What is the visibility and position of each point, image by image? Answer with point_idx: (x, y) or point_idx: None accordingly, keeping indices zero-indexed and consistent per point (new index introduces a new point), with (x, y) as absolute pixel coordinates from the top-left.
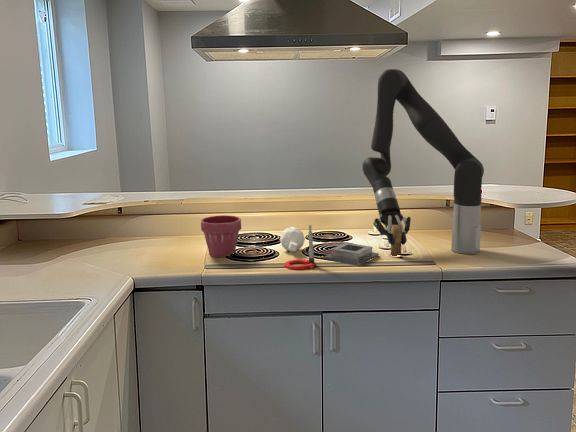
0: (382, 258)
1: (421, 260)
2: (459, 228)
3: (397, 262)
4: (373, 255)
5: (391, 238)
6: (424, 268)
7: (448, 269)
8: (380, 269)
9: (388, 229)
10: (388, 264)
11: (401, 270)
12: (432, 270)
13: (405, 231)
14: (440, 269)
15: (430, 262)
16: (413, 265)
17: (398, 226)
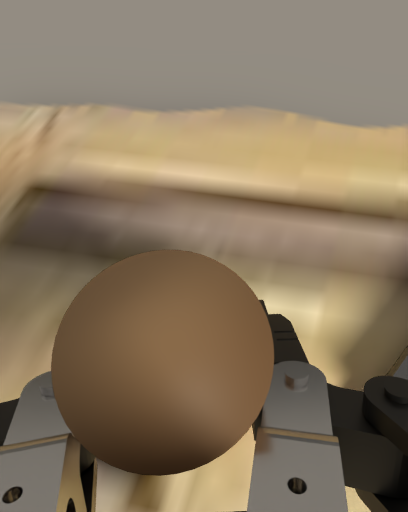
0: (320, 364)
1: (62, 270)
2: None
3: (238, 253)
4: (405, 375)
5: (269, 324)
6: (129, 135)
7: (21, 110)
8: (375, 149)
9: (315, 408)
10: (308, 223)
11: (263, 123)
12: (107, 106)
13: (12, 409)
14: (59, 114)
15: (33, 223)
16: (163, 186)
17: (164, 264)
